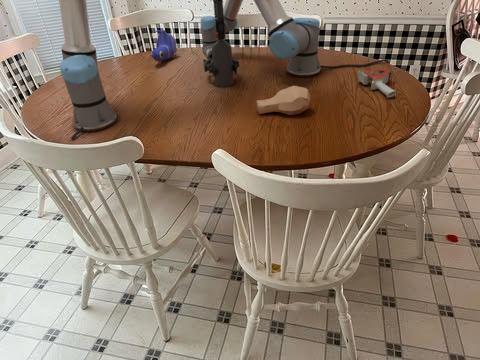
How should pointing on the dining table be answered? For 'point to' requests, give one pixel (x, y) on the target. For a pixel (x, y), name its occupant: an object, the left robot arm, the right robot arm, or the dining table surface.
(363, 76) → the tape dispenser
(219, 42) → the bottle
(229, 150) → the dining table surface
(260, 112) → the squash
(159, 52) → the toy
